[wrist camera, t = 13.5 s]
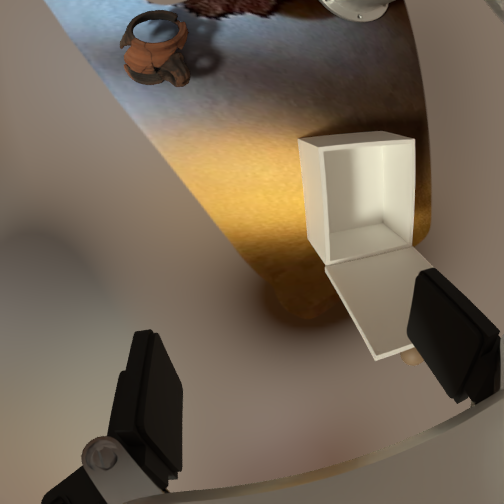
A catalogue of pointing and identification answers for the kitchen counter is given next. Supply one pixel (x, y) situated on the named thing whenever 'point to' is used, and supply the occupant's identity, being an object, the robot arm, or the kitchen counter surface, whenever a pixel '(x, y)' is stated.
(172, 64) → the broken clay pot
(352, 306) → the carton lid
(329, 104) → the kitchen counter surface
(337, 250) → the carton
